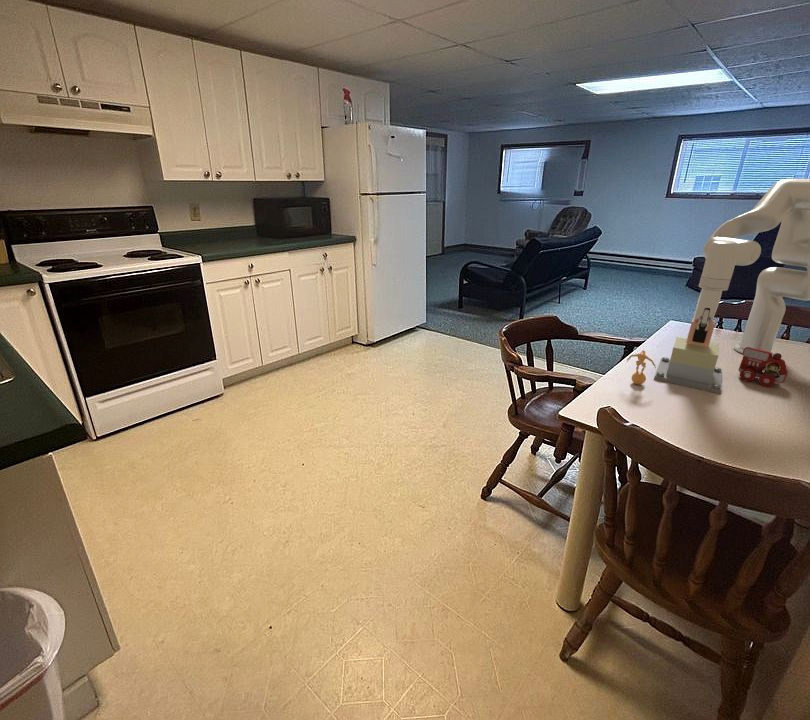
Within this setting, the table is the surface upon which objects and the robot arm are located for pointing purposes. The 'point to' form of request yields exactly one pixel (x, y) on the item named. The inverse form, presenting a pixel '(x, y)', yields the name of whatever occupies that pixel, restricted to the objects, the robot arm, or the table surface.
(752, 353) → the toy fire truck
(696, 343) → the terracotta brick
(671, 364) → the grey yellow stepped block
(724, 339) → the table surface
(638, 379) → the figurine
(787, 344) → the table surface
